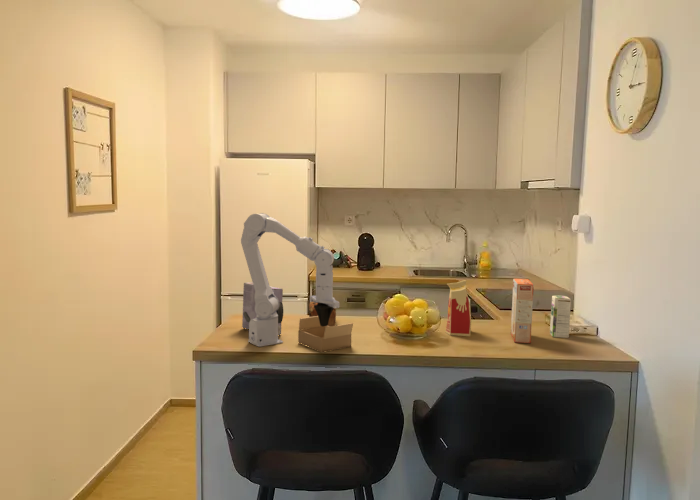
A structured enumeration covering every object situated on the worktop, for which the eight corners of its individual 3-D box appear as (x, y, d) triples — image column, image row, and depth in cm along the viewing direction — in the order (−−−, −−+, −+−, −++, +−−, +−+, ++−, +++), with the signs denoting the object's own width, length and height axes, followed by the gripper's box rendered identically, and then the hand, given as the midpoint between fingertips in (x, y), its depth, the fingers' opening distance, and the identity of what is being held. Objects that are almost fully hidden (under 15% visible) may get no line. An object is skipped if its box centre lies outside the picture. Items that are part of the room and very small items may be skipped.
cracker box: (531, 344, 189) (534, 284, 188) (513, 343, 191) (516, 283, 189) (527, 334, 203) (529, 278, 201) (510, 333, 204) (512, 277, 202)
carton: (321, 352, 176) (321, 338, 176) (298, 343, 187) (298, 330, 187) (351, 346, 184) (351, 333, 183) (326, 338, 195) (327, 325, 194)
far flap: (325, 325, 194) (325, 325, 194) (326, 315, 193) (326, 314, 194) (299, 329, 187) (298, 329, 188) (300, 318, 187) (299, 318, 187)
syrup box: (549, 333, 205) (551, 295, 203) (565, 334, 204) (567, 295, 202) (552, 337, 199) (554, 297, 198) (569, 338, 198) (571, 298, 197)
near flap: (323, 338, 176) (324, 339, 176) (325, 327, 175) (326, 327, 175) (350, 333, 183) (351, 334, 183) (352, 322, 182) (353, 323, 182)
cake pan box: (284, 335, 197) (284, 287, 196) (273, 338, 194) (273, 288, 192) (252, 327, 211) (252, 281, 209) (241, 329, 207) (241, 282, 205)
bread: (336, 330, 207) (336, 304, 206) (307, 330, 207) (307, 304, 206) (335, 319, 226) (335, 295, 225) (309, 319, 225) (309, 295, 224)
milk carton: (468, 330, 209) (470, 278, 207) (471, 336, 199) (473, 281, 198) (444, 329, 209) (445, 277, 208) (446, 335, 200) (447, 281, 198)
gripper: (346, 287, 181) (346, 328, 182) (321, 282, 192) (321, 320, 193) (329, 289, 176) (329, 331, 178) (304, 283, 188) (304, 322, 189)
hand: (324, 325), depth 185 cm, fingers closed
